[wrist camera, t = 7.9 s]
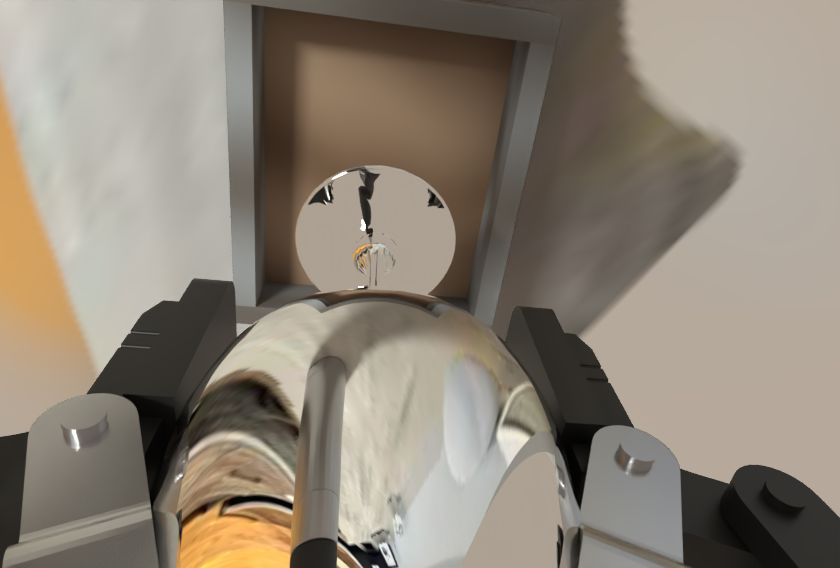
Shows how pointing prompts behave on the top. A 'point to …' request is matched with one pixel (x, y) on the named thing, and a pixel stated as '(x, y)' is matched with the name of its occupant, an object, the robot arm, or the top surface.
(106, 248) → the top surface
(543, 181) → the top surface
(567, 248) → the top surface
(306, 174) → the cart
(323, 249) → the wineglass
